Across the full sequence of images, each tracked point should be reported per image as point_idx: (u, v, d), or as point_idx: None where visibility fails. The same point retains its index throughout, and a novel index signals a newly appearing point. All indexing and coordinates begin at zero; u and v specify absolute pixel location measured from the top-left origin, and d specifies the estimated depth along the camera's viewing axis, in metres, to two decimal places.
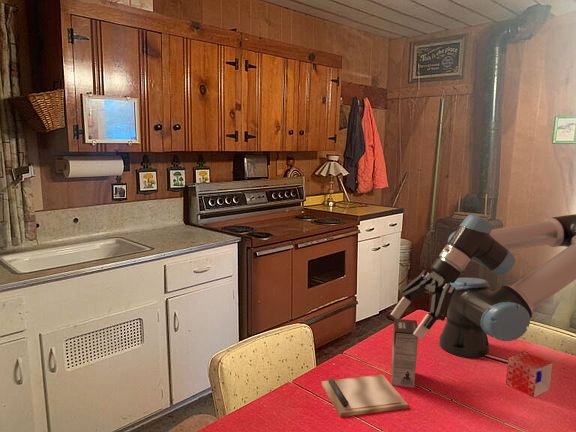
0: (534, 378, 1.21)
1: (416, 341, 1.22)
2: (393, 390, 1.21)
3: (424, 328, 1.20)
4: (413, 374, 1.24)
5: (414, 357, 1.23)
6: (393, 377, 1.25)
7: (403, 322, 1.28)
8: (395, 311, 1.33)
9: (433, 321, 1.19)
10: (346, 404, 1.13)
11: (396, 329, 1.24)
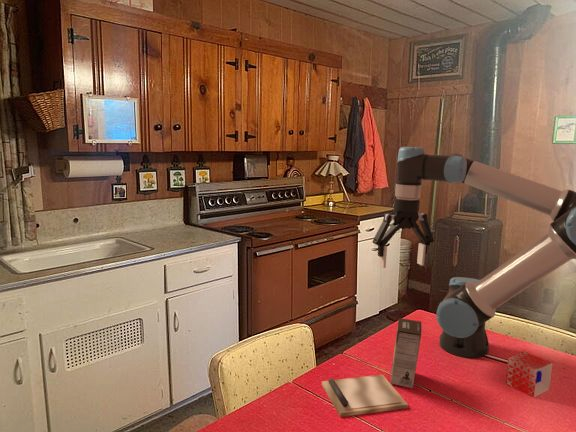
0: (534, 378, 1.21)
1: (419, 343, 1.22)
2: (393, 390, 1.21)
3: (381, 257, 1.39)
4: (413, 375, 1.24)
5: (415, 358, 1.23)
6: (392, 376, 1.25)
7: (407, 322, 1.28)
8: (418, 258, 1.45)
9: (379, 248, 1.38)
10: (346, 404, 1.13)
11: (399, 328, 1.23)
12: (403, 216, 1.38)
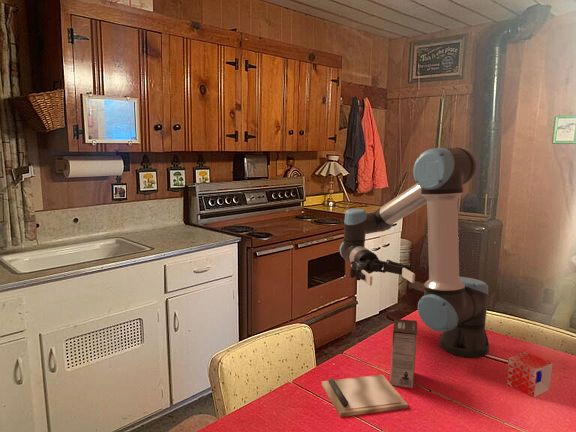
0: (534, 378, 1.21)
1: (415, 342, 1.22)
2: (393, 390, 1.21)
3: (365, 277, 1.35)
4: (412, 374, 1.24)
5: (413, 357, 1.23)
6: (392, 377, 1.25)
7: (403, 322, 1.28)
8: (409, 280, 1.37)
9: (358, 274, 1.38)
10: (346, 404, 1.13)
11: (395, 329, 1.24)
12: None
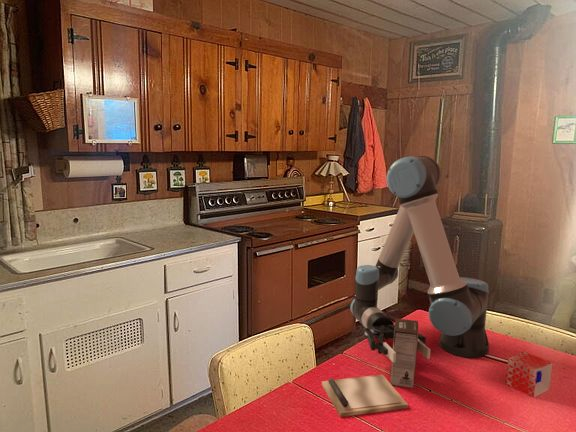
0: (534, 378, 1.21)
1: (416, 342, 1.22)
2: (393, 390, 1.21)
3: (388, 352, 1.25)
4: (412, 374, 1.24)
5: (413, 357, 1.23)
6: (392, 376, 1.25)
7: (404, 322, 1.28)
8: (424, 355, 1.26)
9: (380, 347, 1.27)
10: (346, 404, 1.13)
11: (396, 329, 1.24)
12: (379, 326, 1.40)
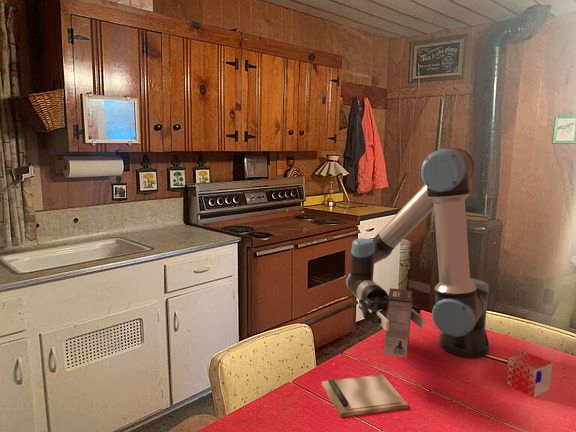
0: (534, 378, 1.21)
1: (410, 310, 1.20)
2: (393, 390, 1.21)
3: (381, 321, 1.23)
4: (406, 343, 1.22)
5: (407, 326, 1.21)
6: (385, 346, 1.23)
7: (398, 291, 1.26)
8: (418, 324, 1.24)
9: (373, 317, 1.25)
10: (346, 404, 1.13)
11: (390, 297, 1.22)
12: (374, 298, 1.37)
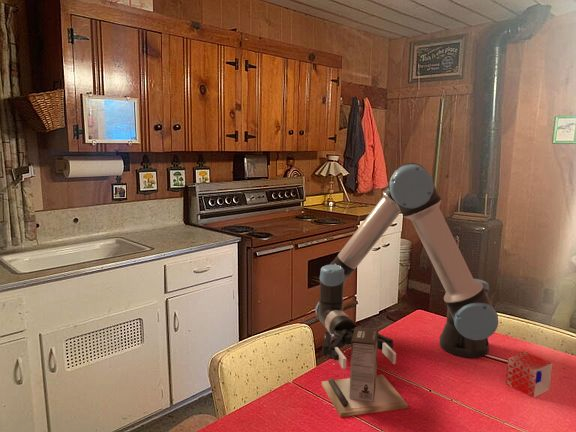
0: (534, 378, 1.21)
1: (375, 352, 1.13)
2: (393, 390, 1.21)
3: (339, 358, 1.16)
4: (372, 387, 1.15)
5: (373, 369, 1.14)
6: (351, 390, 1.16)
7: (363, 331, 1.19)
8: (390, 359, 1.18)
9: (331, 353, 1.19)
10: (346, 404, 1.13)
11: (353, 339, 1.15)
12: None
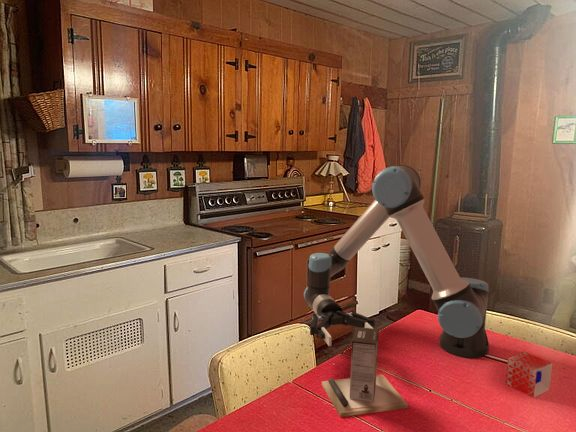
0: (534, 378, 1.20)
1: (375, 352, 1.13)
2: (393, 390, 1.21)
3: (325, 336, 1.29)
4: (372, 387, 1.15)
5: (373, 369, 1.14)
6: (351, 390, 1.16)
7: (364, 331, 1.19)
8: None
9: (318, 332, 1.31)
10: (346, 404, 1.13)
11: (354, 339, 1.15)
12: None
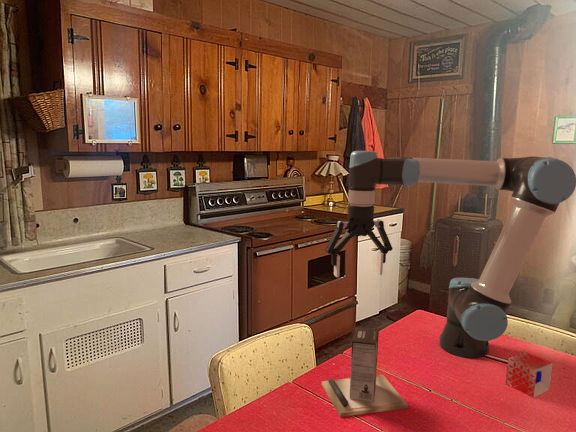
0: (534, 378, 1.21)
1: (375, 352, 1.13)
2: (393, 390, 1.21)
3: (335, 266, 1.34)
4: (372, 388, 1.15)
5: (373, 369, 1.14)
6: (351, 390, 1.16)
7: (364, 331, 1.19)
8: (377, 267, 1.38)
9: (332, 257, 1.33)
10: (346, 404, 1.13)
11: (354, 339, 1.15)
12: (357, 223, 1.32)
